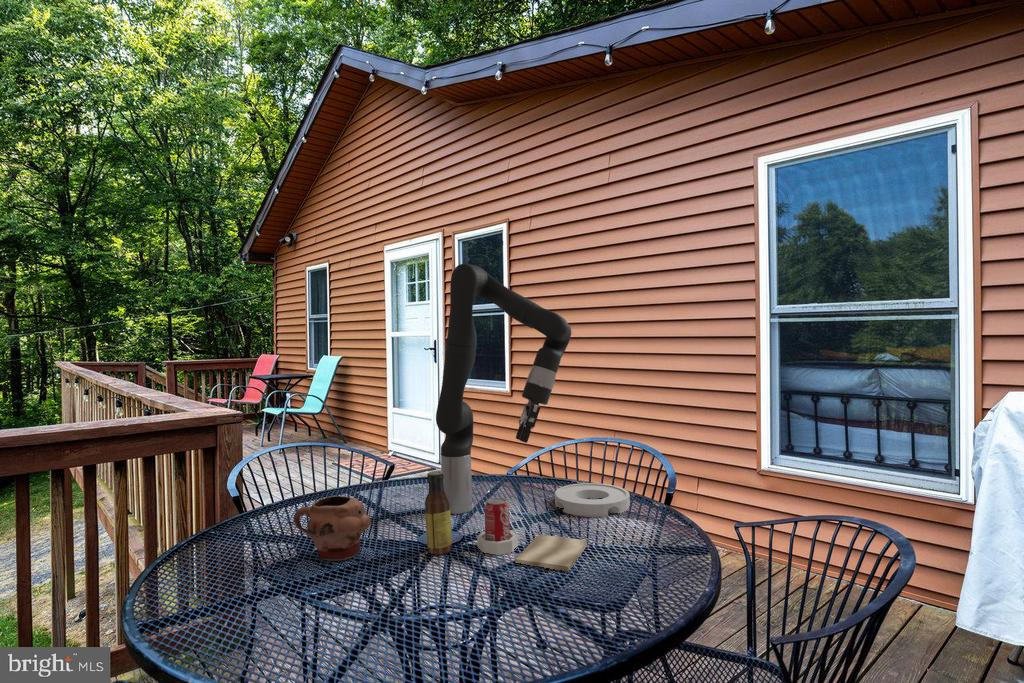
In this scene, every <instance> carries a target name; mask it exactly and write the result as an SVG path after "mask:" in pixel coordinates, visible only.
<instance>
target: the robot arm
mask: <svg viewBox="0 0 1024 683" xmlns="http://www.w3.org/2000/svg"><path fill="white" fill-rule="evenodd" d="M449 288H450V289H449V290H450V292H449V293H450V294H449V295H450V296H449V298H450V299H449V300H450V301H449V302H450V303H449V317H448V325H447V326H448V328H447V336H446V343H445V351H444V352H445V353H444V364H443V372H442V382H441V389H440V394H439V399H438V404H437V407H436V412H435V413H436V414H435V423H436V426H437V428H438V430H439V431H440V432H442V433H443V434H445V439H444V440H443V442H442V444H441V445H440V467H441V468H440V470H441V472H443V473H444V478H443V485H444V491H445V494H446V497H447V499H448V502H449V505H450V515H451V514H453V515H458V514H459V515H460V514H465V513H469V512H470V511H472V509H473V495H472V494H473V492H472V491H473V487H472V446H473V443H474V414H473V410H472V408H471V406H470V405H469V404H468V403H467V402H466V401H463V400H464V393H465V388H466V384H467V383H468V380H469V378H470V376H471V373H472V370H473V368H474V364H475V361H476V357H477V356H476V354H477V346H478V345H477V344H478V336H477V331H476V326H475V322H474V316H473V308H474V307H473V306H474V300H475V297H478V298H481V299H483V300H487V301H489V302H490V303H493V304H494V305H495V306H497V307H498V308H500V309H501V310H502V311H503V312H504V313H505V314H507V315H508V316H509V317H511V319H512V318H513V320H515V321H517V322H519V323H520V324H522V325H523V326H525V327H527V328H529V329H534V330H536V331H537V332H539V333H541V334H543V335H544V336H545V340H544V342H543V344H542V347H541V348H539V349H537V352H536V355H535V358H534V361H533V363H532V367H531V369H530V370H529V373H528V375H527V378H526V382H525V385H524V388H523V391H522V394H521V397H522V398H523V399H526V400H527V401H528V402H526V403H525V404H524V405H523V409H522V412H521V414H520V417H519V420H518V426H519V427H518V428H517V429H518V430H517V432H516V435H515V439H516V440H518V441H520V442H522V443H525V444H527V443H528V441H529V439H530V435H531V432H532V430H533V429H534V428H535V427H536V422H537V420H538V416H539V413H540V410H541V406H540V405H542V406H547V405H548V403H549V402H550V397H551V394H552V390H553V388H554V385H555V382H556V377H557V374H558V373H557V372H558V371H559V367H560V364H561V359H562V357H563V355H564V354H565V352H566V349H567V348H568V345H569V343H570V340H571V338H572V327H571V326H570V323H568V321H567V320H566V318H564V317H563V316H562V315H560V314H558V313H556V312H554V311H552V310H549V309H546V308H543V307H542V306H541V305H539V304H537V303H535V302H533V301H532V300H530V299H529V298H527V297H525V296H523V295H521V294H519V293H517V292H516V291H514V290H512V289H510V288H509V287H507V286H505V285H504V284H502V283H501V282H499V280H496V279H495V277H493V276H492V275H491V274H490V273H488V272H487V271H486V270H484V269H483V268H482V267H480V266H477V265H475V264H470V263H461V264H458V265H456V267H455V268H454V269H453V271H452V273H451V277H450V287H449Z"/></svg>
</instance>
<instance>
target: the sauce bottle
mask: <svg viewBox="0 0 1024 683" xmlns="http://www.w3.org/2000/svg"><path fill="white" fill-rule="evenodd" d="M443 478H444V473H443V472H441V471H440V470H433V471H429V472H427V480H428V493H427V495H426V497H425V500H424V506H425V510H424V512H425V513H424V514H425V517H424V518H425V531H426V533H425V534H426V547H427V552H428V554H432V555H434V556H441V555H445V554H449V553H450V552H451V551H452V550H451V549H452V548H453V547H452V543H453V537H452V536H453V534H452V518H451V514H450V505H449V502H448V499H447V497H446V494H445V491H444V485H443Z"/></svg>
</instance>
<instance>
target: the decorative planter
mask: <svg viewBox="0 0 1024 683" xmlns="http://www.w3.org/2000/svg"><path fill="white" fill-rule="evenodd" d="M302 516H306V517H308V522H307V525H306V526H307V527H306V528H307V529H306V528H304V527H303V526H302V525H301V523H300V520H301V517H302ZM292 519H293V523H294V526H295V528H297V529H298V530H300V531H301V532H303V533H305V535H306V536H308V537H309V538H310V539H311V540H312V541H313V543H314V545H315V548H316V551H317V555H318V558H319V559H321V560H324V561H332V562H333V561H345V560H348V559H352V558H354V557H355V556H357V555H358V554H359V553H360V550H361V538H360V537H361V535H362V533H363V532H364V531H366V530H367V529H369V527H370V526H371V524H372V519H371V517H370V516H369V515H368V514H367V513H366V510H365V506H364V504H363V502H361V501H360V500H358V499H357V498H355V497H352V496H351V497H350V496H343V495H342V496H341V495H335V496H334V495H333V496H332V495H331V496H327V497H324V498H321V499H318V500H316V501H314V503H313V504H311V506H303V507H299V509H296V511H295V512H294V514H293V517H292Z"/></svg>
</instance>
